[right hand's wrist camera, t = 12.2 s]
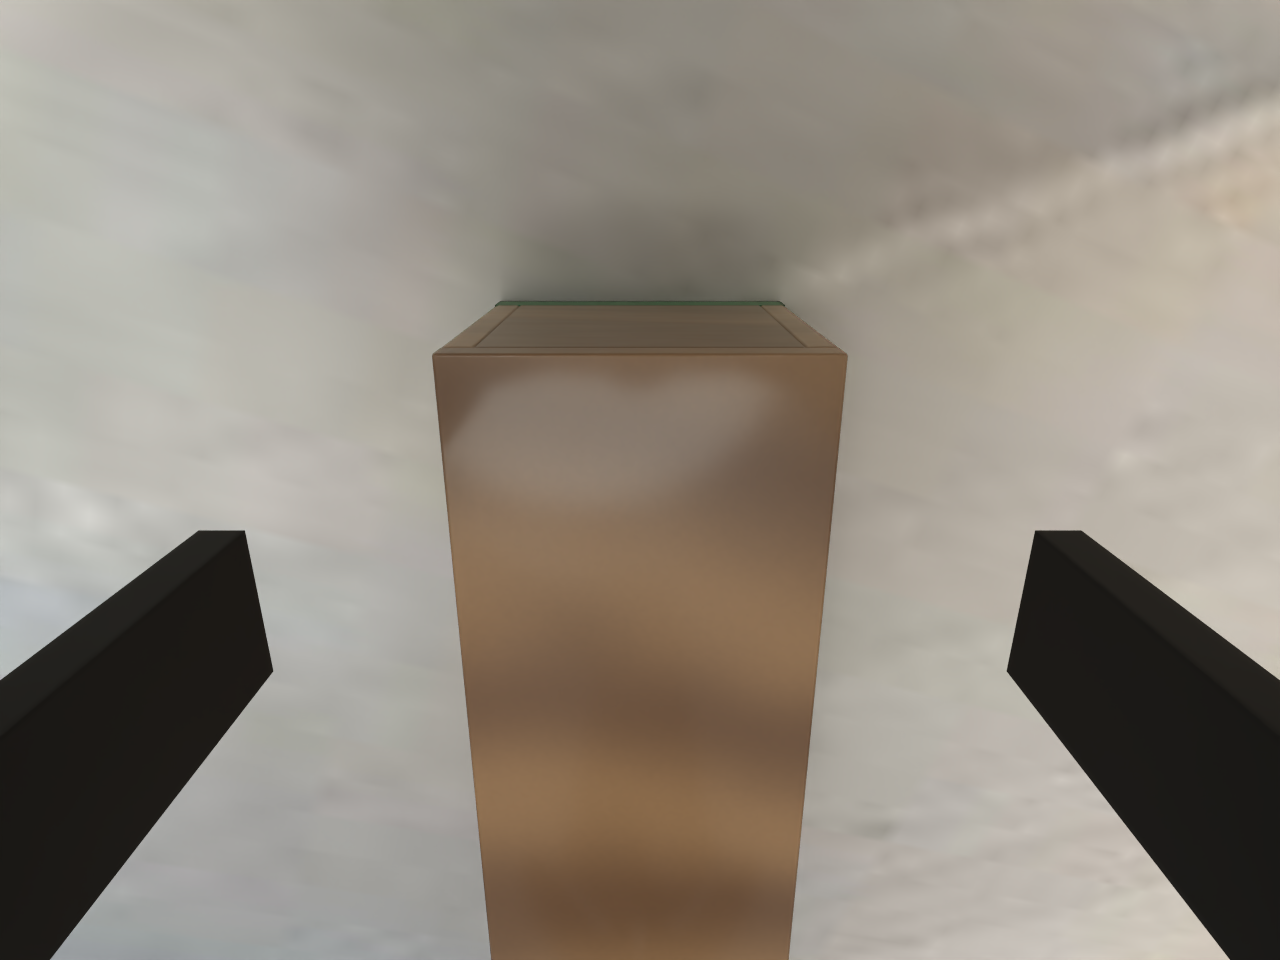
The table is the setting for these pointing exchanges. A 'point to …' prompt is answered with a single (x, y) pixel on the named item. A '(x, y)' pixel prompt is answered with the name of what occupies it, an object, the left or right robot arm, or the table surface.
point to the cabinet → (639, 615)
